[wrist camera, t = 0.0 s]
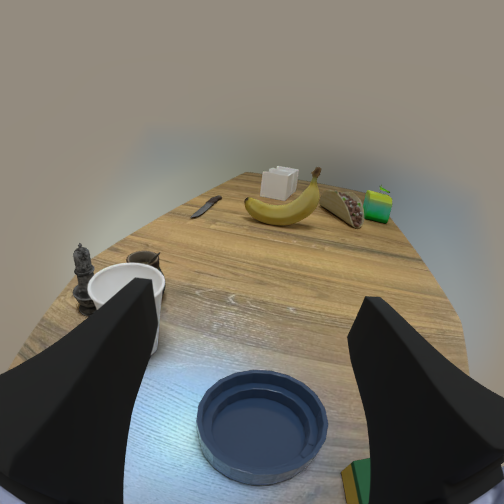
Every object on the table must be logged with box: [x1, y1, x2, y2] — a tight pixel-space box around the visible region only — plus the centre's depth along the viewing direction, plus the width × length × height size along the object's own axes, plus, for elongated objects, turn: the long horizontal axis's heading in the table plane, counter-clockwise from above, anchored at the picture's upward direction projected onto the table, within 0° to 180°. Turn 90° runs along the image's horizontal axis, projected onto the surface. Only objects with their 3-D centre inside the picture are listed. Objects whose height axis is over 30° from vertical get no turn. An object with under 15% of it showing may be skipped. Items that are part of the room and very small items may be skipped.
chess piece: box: [73, 243, 97, 316], centre depth 39 cm, size 6×6×12 cm
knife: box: [190, 195, 222, 218], centre depth 95 cm, size 28×3×1 cm, turn 170°
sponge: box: [341, 458, 370, 504], centre depth 17 cm, size 7×4×4 cm, turn 0°
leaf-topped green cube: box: [363, 187, 392, 223], centre depth 106 cm, size 11×10×15 cm
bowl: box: [196, 370, 328, 485], centre depth 25 cm, size 13×13×4 cm
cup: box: [87, 263, 165, 355], centre depth 33 cm, size 10×10×11 cm
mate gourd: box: [126, 251, 165, 296], centre depth 44 cm, size 7×8×10 cm
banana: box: [244, 167, 321, 225], centre depth 83 cm, size 23×6×20 cm, turn 79°
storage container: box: [260, 166, 299, 201], centre depth 125 cm, size 25×11×11 cm, turn 161°
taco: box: [319, 190, 364, 228], centre depth 103 cm, size 10×27×10 cm, turn 16°
